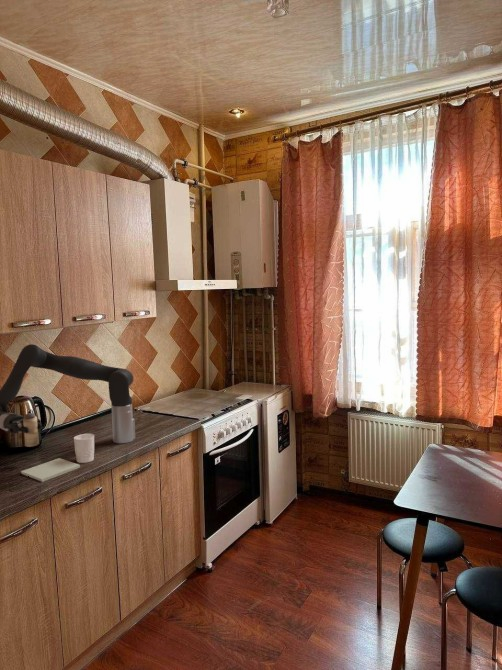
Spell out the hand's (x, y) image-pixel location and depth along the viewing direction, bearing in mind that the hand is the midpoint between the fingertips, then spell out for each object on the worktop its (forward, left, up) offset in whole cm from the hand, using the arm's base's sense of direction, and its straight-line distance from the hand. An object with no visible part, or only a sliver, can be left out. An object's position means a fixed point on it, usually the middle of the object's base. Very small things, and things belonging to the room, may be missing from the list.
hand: (34, 428), depth 180 cm
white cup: (-14, +12, -15) cm, 24 cm away
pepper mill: (0, -3, -7) cm, 7 cm away
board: (0, +10, -15) cm, 18 cm away
